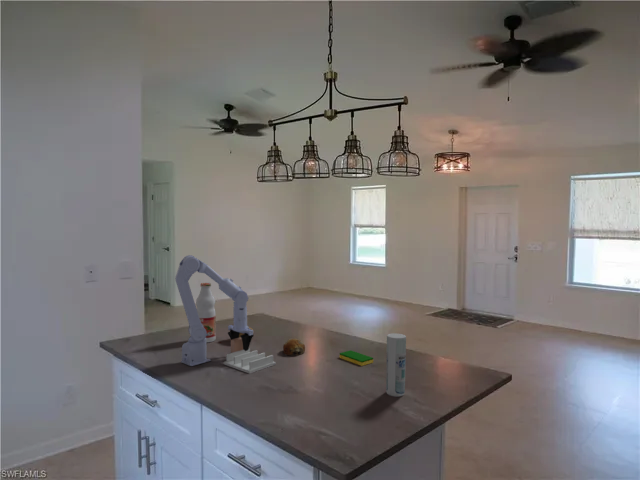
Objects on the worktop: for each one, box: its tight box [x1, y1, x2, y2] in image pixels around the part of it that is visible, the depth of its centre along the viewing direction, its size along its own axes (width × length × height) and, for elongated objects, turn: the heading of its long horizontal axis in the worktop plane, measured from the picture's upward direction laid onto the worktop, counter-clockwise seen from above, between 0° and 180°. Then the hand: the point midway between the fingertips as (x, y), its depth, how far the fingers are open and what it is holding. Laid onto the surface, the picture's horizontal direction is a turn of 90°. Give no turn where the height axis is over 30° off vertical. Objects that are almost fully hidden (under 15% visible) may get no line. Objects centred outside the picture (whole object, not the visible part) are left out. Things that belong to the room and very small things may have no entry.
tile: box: [230, 337, 243, 353], centre depth 189 cm, size 8×2×8 cm, turn 140°
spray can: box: [385, 332, 407, 398], centre depth 151 cm, size 6×6×20 cm
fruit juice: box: [195, 282, 217, 344], centre depth 213 cm, size 9×9×28 cm
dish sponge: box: [339, 349, 374, 367], centre depth 186 cm, size 7×14×2 cm, turn 40°
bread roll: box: [282, 338, 306, 356], centre depth 196 cm, size 10×10×8 cm
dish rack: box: [223, 347, 277, 374], centre depth 179 cm, size 14×16×4 cm
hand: (240, 349), depth 189 cm, fingers open, 6 cm apart
